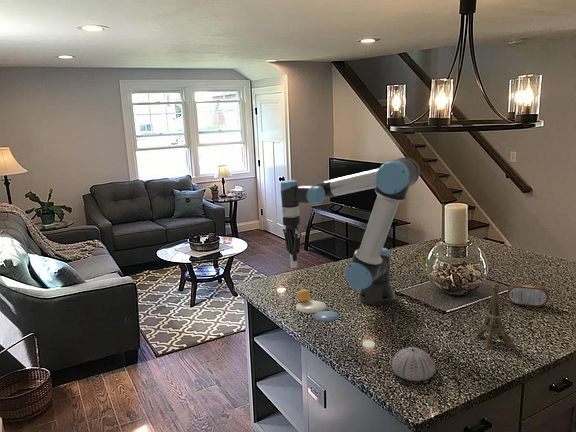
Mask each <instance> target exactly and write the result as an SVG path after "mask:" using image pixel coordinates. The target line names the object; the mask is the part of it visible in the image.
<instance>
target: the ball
mask: <svg viewBox="0 0 576 432" xmlns="http://www.w3.org/2000/svg"><path fill="white" fill-rule="evenodd" d="M296 295H297V299H298V300H299V301H300V302H306V301H310V298H311V293H310V292H309V290H308V289H305V288H303V289H300V290H299V291H298V292H297V293H296Z"/></svg>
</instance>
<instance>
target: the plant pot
mask: <svg viewBox="0 0 576 432" xmlns="http://www.w3.org/2000/svg"><path fill="white" fill-rule="evenodd" d="M427 256H428V255H426V256H422V257H420V261H421V264H422V270H423V276H424V277H426V274H425V264H426V258H427Z"/></svg>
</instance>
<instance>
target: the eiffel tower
mask: <svg viewBox="0 0 576 432" xmlns="http://www.w3.org/2000/svg"><path fill="white" fill-rule="evenodd" d="M490 287H492V291H491V292H492V293H491V298H490V304H489V305H490V306H489V309H488V311H486V315H487V316H486V320H485V321H484V322H482V324H483V325H482V326H481V327H480V328H478V330H476V331H475V332H474V333H471V336H472V337H473V338H475V339H482V338H484V334H485V333H486V332H487V334H488V335H487V337H486V339H485V340H484V343H482V344H481V345H482V347H483V348H484V349H486V350H487V349H488V350H490V349H494V348H495V347H494V344H493V339H494V338H493V336H494V335H495V337H502V338H503V340H504V342H503V344H505V345H506V346H507V347H508V348H510V347H517V345H516V344H515V343H514V342H513V340H512V339H511V337H510V336H509V334H508V333H507V331H506V327H505V326H504V325H503V321H502V319H503V315H502V314H501V309H500V298H499V288H501V286H500V284H499V283H498V282H497V278H495V280H494V283H491V285H490Z"/></svg>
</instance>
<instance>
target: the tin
mask: <svg viewBox="0 0 576 432" xmlns="http://www.w3.org/2000/svg"><path fill="white" fill-rule="evenodd" d="M506 293H507V298H508V300H509V301H510V302H511V303H513V304H516V305H520V306H530V307H543V306H545V305H546V304H547V303H548V301H549V292H548V290H547V289H546V288H545V287H543V286H541V285H538V284H537V285H535V284H525V283H514V284H511V285H510V286H509V287H508V288H507V292H506Z"/></svg>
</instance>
